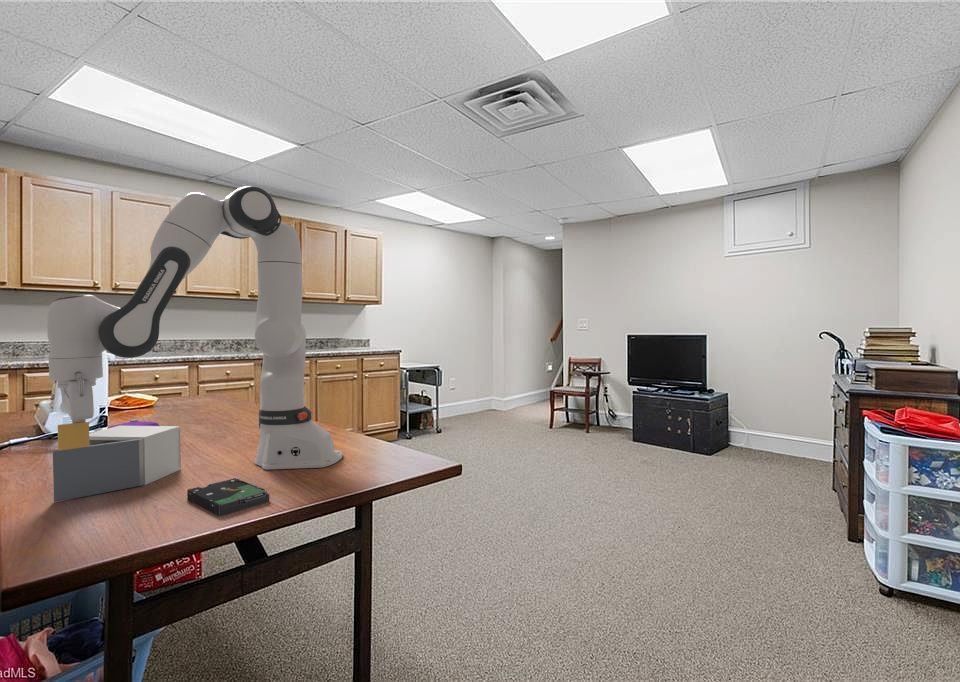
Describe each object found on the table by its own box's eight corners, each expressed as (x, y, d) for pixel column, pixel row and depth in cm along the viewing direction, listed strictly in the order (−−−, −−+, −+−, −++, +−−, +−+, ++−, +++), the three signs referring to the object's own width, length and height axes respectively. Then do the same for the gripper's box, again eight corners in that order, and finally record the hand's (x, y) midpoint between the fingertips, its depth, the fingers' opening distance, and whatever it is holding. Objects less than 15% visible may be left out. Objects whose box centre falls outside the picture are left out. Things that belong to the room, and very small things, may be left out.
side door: (143, 483, 111) (141, 415, 111) (144, 485, 110) (142, 416, 110) (53, 501, 100) (51, 425, 100) (54, 502, 100) (52, 426, 99)
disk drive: (185, 503, 102) (219, 519, 93) (185, 489, 101) (219, 504, 93) (235, 489, 110) (271, 503, 101) (235, 477, 110) (270, 489, 101)
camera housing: (183, 468, 124) (182, 425, 124) (145, 484, 111) (144, 437, 111) (123, 467, 125) (122, 424, 125) (79, 483, 112) (77, 436, 112)
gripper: (101, 373, 98) (103, 440, 99) (90, 366, 113) (92, 425, 114) (60, 375, 94) (63, 446, 95) (54, 368, 109) (56, 429, 109)
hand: (79, 434), depth 104 cm, fingers closed
